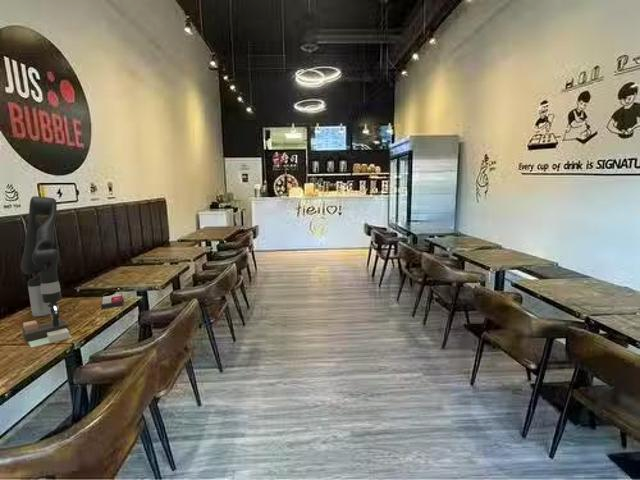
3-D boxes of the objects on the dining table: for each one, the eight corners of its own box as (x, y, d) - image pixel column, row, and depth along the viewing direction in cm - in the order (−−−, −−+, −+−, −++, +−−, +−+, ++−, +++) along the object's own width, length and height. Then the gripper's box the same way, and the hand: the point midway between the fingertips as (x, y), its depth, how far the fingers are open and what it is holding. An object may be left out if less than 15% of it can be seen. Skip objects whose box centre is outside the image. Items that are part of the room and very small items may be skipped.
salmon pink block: (23, 328, 194) (22, 322, 194) (36, 326, 198) (35, 320, 197) (25, 332, 190) (24, 326, 189) (38, 329, 193) (37, 323, 193)
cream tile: (49, 336, 185) (50, 342, 185) (69, 331, 190) (70, 337, 191) (46, 332, 189) (47, 339, 190) (66, 328, 195) (67, 334, 195)
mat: (28, 342, 187) (28, 341, 187) (68, 332, 198) (67, 332, 198) (31, 348, 181) (31, 347, 181) (72, 337, 191) (72, 336, 191)
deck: (23, 336, 196) (22, 328, 195) (63, 326, 207) (62, 318, 207) (26, 342, 187) (25, 334, 187) (69, 332, 198) (67, 324, 198)
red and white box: (101, 303, 233) (101, 296, 246) (102, 310, 234) (102, 302, 247) (122, 300, 238) (121, 293, 251) (123, 307, 239) (122, 299, 252)
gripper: (63, 292, 188) (68, 327, 191) (57, 287, 198) (62, 320, 201) (44, 295, 183) (49, 332, 186) (39, 290, 193) (44, 325, 196)
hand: (56, 326), depth 193 cm, fingers closed
